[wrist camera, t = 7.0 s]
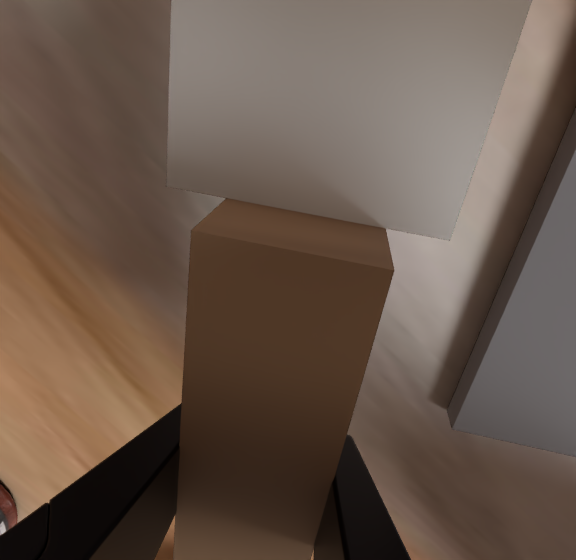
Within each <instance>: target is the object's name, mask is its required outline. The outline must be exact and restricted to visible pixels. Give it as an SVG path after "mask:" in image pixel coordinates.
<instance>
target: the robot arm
mask: <svg viewBox="0 0 576 560" xmlns="http://www.w3.org/2000/svg"><path fill="white" fill-rule="evenodd" d="M181 406H182V403H181V404H180V405H178V406H177V407H176V408H174V409H173V410H172V411H170V412H169V413H168V414H166V415H165V416H163V417H162V418H161V419H159V420H158V421H157V422H155V423H154V424H153V425H151V426H150V427H148V428H147V429H146V430H144V431H143V432H142V433H140V434H139V435H138V436H136V437H135V438H133V439H132V440H131V441H129V442H128V443H127V444H125V445H124V446H123V447H121V448H120V449H119V450H117V451H116V452H114V453H113V454H112V455H110V456H109V457H108V458H106V459H105V460H104V461H102V462H101V463H99V464H98V465H97V466H95V467H94V468H93V469H91V470H90V471H89V472H87V473H86V474H85V475H83V476H82V477H80V478H79V479H78V480H76V481H75V482H74V483H72V484H71V485H70V486H68V487H67V488H65V489H64V490H63V491H61V492H60V493H59V494H57V495H56V496H55V497H53V498H52V499H51V500H50V502H49V503H45V504H43V505H42V506H41V507H39V508H38V509H37V510H35V511H34V512H33V513H31V514H30V515H28V516H27V517H26V518H24V519H23V520H21V521H20V522H19V523H17V524H16V525H14V526H13V527H11V528H10V529H9V530H7V531H6V532H4V533H3V534H1V535H0V560H154V559H155V557H156V554H157V552H158V550H159V548H160V546H161V544H162V542H163V540H164V537H165V535H166V533H167V531H168V529H169V527H170V525H171V522H172V520H173V518H174V516H175V514H176V511H177V493H178V475H179V458H180V446H179V442H180V424H181ZM314 560H411V559H410V556H409V554H408V552H407V550H406V548H405V546H404V544H403V542H402V540H401V538H400V536H399V534H398V532H397V530H396V527H395V525H394V523H393V521H392V519H391V517H390V515H389V513H388V511H387V509H386V507H385V505H384V503H383V500H382V498H381V496H380V494H379V492H378V490H377V488H376V486H375V484H374V482H373V480H372V478H371V476H370V473H369V471H368V469H367V467H366V465H365V463H364V461H363V459H362V457H361V455H360V453H359V451H358V449H357V446H356V444H355V442H354V440H353V438H352V437H351V436H350V435H346V439H345V442H344V446H343V449H342V453H341V456H340V459H339V463H338V466H337V470H336V473H335V477H334V480H333V482H332V484H331V487H330V490H329V494H328V497H327V501H326V504H325V508H324V511H323V515H322V518H321V522H320V525H319V529H318V532H317V536H316V539H315V543H314Z"/></svg>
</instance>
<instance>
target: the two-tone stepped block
mask: <svg viewBox="0 0 576 560" xmlns="http://www.w3.org/2000/svg"><path fill="white" fill-rule="evenodd" d="M531 2H532V0H171V29H170V66H169V104H168V141H167V178H166V187H171V188H176V189H181V190H187V191H192V192H197V193H202V194H208V195H213V196H218V197H223V198H226V199H225V200H224V201H223V202H222V203H221V204H220V205H219V206H217V207H216V208H215V209H214V210H213V211H212V212H211V213H210V214H209V215H208V216H206V217H205V218H204V219H203V220H202V221H201V222H200V223H199V224H198V225H197V226H195V227H194V228H193V229H192V230H191V244H190V262H189V280H188V298H187V316H186V334H185V352H184V370H183V388H182V406H181V424H180V442H179V446H180V458H179V475H178V493H177V511H176V515H175V533H174V551H173V560H311V556H312V553H313V549H314V543H315V539H316V536H317V532H318V529H319V525H320V522H321V518H322V515H323V511H324V508H325V504H326V501H327V497H328V494H329V490H330V487H331V484H332V482H333V480H334V477H335V473H336V470H337V466H338V463H339V459H340V456H341V453H342V449H343V446H344V442H345V439H346V435H347V432H348V428H349V425H350V422H351V418H352V415H353V411H354V408H355V404H356V401H357V397H358V394H359V390H360V387H361V384H362V380H363V377H364V373H365V370H366V366H367V363H368V359H369V356H370V352H371V349H372V346H373V342H374V339H375V335H376V332H377V328H378V325H379V321H380V318H381V314H382V311H383V308H384V304H385V301H386V297H387V294H388V290H389V287H390V283H391V280H392V277H393V273H394V266H393V262H392V257H391V252H390V247H389V243H388V238H387V233H386V229H391V230H396V231H401V232H407V233H412V234H417V235H422V236H428V237H433V238H438V239H443V240H449V241H450V239H451V237H452V234H453V231H454V228H455V225H456V222H457V219H458V216H459V213H460V210H461V207H462V204H463V201H464V198H465V196H466V193H467V190H468V187H469V184H470V181H471V178H472V175H473V172H474V169H475V166H476V163H477V160H478V158H479V155H480V152H481V149H482V146H483V143H484V140H485V137H486V134H487V131H488V128H489V125H490V122H491V119H492V117H493V114H494V111H495V108H496V105H497V102H498V99H499V96H500V93H501V90H502V87H503V84H504V81H505V79H506V76H507V73H508V70H509V67H510V64H511V61H512V58H513V55H514V52H515V49H516V46H517V43H518V40H519V38H520V35H521V32H522V29H523V26H524V23H525V20H526V17H527V14H528V11H529V8H530V5H531Z"/></svg>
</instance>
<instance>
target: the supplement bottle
mask: <svg viewBox="0 0 576 560" xmlns="http://www.w3.org/2000/svg"><path fill="white" fill-rule="evenodd" d="M17 516H18V515H17V509H16V505H15V503H14V500H13V499H12V497H11V495H10V494H9V493H8V492H7V491H6V490H5V489H4V487H3V486H2V485H1V484H0V535H1V534H3V533H4V532H6V531H7V530H9V529H10V528H11V527H13V526H14V525H16V524H17Z"/></svg>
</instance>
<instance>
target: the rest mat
mask: <svg viewBox="0 0 576 560" xmlns="http://www.w3.org/2000/svg"><path fill="white" fill-rule="evenodd" d="M447 413H448V417H449V420H450V424H451V428H452V429H453V430H457V431H462V432H466V433H471V434H475V435H480V436H484V437H489V438H493V439H498V440H502V441H507V442H511V443H515V444H520V445H524V446H529V447H533V448H538V449H542V450H547V451H551V452H556V453H560V454H565V455H569V456H574V457H576V108H575V110H574V113H573V115H572V117H571V120H570V122H569V124H568V127H567V129H566V131H565V134H564V136H563V138H562V141H561V143H560V146H559V148H558V150H557V153H556V155H555V157H554V160H553V162H552V164H551V167H550V169H549V171H548V174H547V176H546V179H545V181H544V183H543V186H542V188H541V190H540V193H539V195H538V197H537V200H536V202H535V204H534V207H533V209H532V211H531V214H530V216H529V219H528V221H527V223H526V226H525V228H524V230H523V233H522V235H521V237H520V240H519V242H518V244H517V247H516V249H515V252H514V254H513V256H512V259H511V261H510V263H509V266H508V268H507V270H506V273H505V275H504V277H503V280H502V282H501V285H500V287H499V289H498V292H497V294H496V296H495V299H494V301H493V303H492V306H491V308H490V310H489V313H488V315H487V318H486V320H485V322H484V325H483V327H482V329H481V332H480V334H479V336H478V339H477V341H476V343H475V346H474V348H473V351H472V353H471V355H470V358H469V360H468V362H467V365H466V367H465V369H464V372H463V374H462V376H461V379H460V381H459V384H458V386H457V388H456V391H455V393H454V395H453V398H452V400H451V402H450V405H449V407H448V409H447Z"/></svg>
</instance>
